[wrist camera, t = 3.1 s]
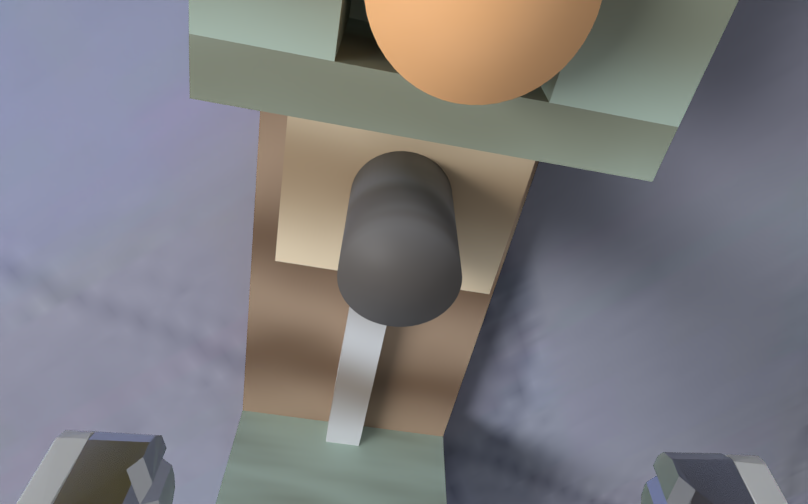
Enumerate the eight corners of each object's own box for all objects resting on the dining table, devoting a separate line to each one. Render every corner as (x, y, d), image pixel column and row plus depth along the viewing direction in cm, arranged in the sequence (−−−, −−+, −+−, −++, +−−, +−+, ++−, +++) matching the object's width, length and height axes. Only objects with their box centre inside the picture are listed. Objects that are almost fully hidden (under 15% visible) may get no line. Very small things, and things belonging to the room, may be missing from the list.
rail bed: (415, 484, 36) (416, 676, 28) (245, 463, 35) (195, 656, 27) (638, -189, 18) (839, -211, 9) (295, -273, 17) (185, -381, 8)
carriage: (477, 227, 23) (505, 385, 17) (295, 197, 22) (247, 349, 16) (524, 75, 20) (582, 196, 13) (311, 34, 19) (259, 140, 12)
